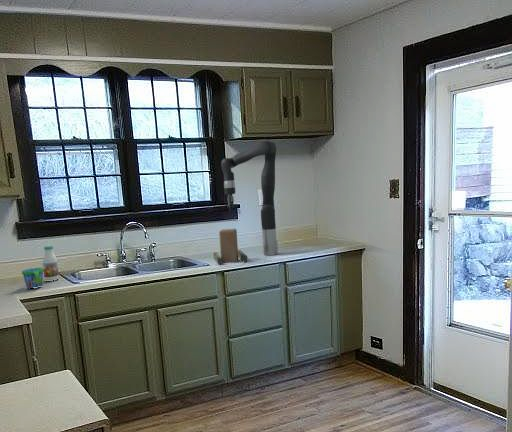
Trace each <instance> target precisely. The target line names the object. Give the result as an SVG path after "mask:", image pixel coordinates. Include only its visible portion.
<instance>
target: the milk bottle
mask: <svg viewBox="0 0 512 432" xmlns="http://www.w3.org/2000/svg"><path fill="white" fill-rule="evenodd" d="M43 249H44V255H43V259H42V268H43V269H44V271H43V279H44V281H45V280H54V279H58V278H59V279H60V275H59V274H60V273H59V264H58V259H57V256H56V255H55V252H54V246H53V245H46V246H44V247H43Z"/></svg>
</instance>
